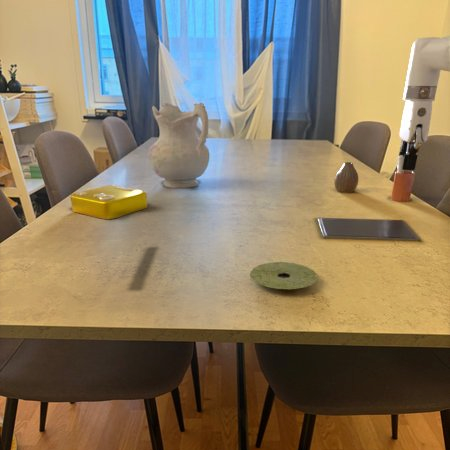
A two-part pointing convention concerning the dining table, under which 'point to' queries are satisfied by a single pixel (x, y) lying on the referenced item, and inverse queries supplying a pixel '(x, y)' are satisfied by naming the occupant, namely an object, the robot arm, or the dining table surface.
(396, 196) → the pen cup
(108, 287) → the dining table surface
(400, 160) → the stylus
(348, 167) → the vase
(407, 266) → the dining table surface
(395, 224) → the tablet
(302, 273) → the green stone disc
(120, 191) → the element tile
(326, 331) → the dining table surface
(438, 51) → the robot arm
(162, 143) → the ceramic pitcher
